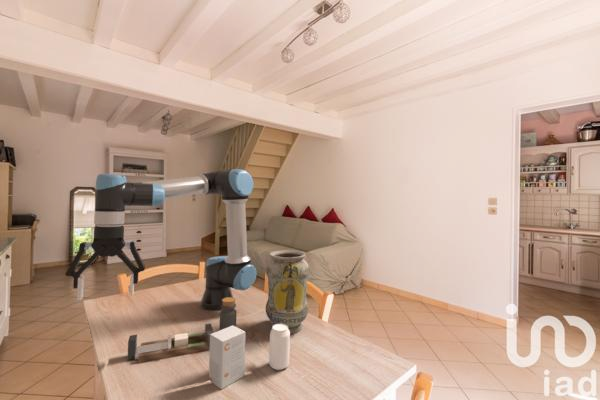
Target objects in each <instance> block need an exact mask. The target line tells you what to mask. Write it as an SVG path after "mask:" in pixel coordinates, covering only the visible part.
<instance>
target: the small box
mask: <svg viewBox="0 0 600 400" xmlns="http://www.w3.org/2000/svg"><path fill="white" fill-rule="evenodd" d="M208 356H209V359H208V360H209V361H208V363H209V364H208V377H209V378H210V379H209V381H210V382H211V383H212V384H214V386H216V387H218V389H220V390H222V389H225V388H226V387H228V386H230V385H231V384H233V383H234V382H236V381H238V380H240V379H242V378H243V377H245V369H246V368H245V367H246V365H245V364H246V331H245V330H243V329H241V328H239V327H237V326H236V327H235V326H233V325H232V326H230V327H227V328H225V329H222V330H220V331H219V330H218V331H214V333H212V334H210V350H209V355H208Z"/></svg>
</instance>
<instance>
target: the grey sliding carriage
mask: <svg viewBox="0 0 600 400" xmlns="http://www.w3.org/2000/svg"><path fill="white" fill-rule="evenodd" d="M171 338H172V334H170V335H168V336H167V339H168V341H167V342H161V343H155V344H149V345H143V346H141V345H138V334H133V335H129V336H128V340H127V361H129V360H130V361H131V360H138V355H139V354H142V353H147V352H153V351H159V350H164V349H170V348H171Z"/></svg>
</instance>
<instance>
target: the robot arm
mask: <svg viewBox="0 0 600 400" xmlns="http://www.w3.org/2000/svg"><path fill="white" fill-rule="evenodd" d="M253 189H254V179H253V178H252V176H251V174H250V173H249V172H248V171H246V170H245V169H239V168H232V169H219V170H214V171H210V172H206V173H198V174H197V175H195V176H189V177H180V178H179V177H178V178H169V179H162V180H161V179H159V180H151V181H139V182H131V181H128V180H127V177H126V176H125V175H123V174H115V173H100V174H98V175H97V176H96V181H95V188H94V192H95V194H94V197H95V198H94V219H93V224H94V227H93V240H92V242H87V241H83V242H81V243H79V247H78V251H77V253H76V255H75V257H74V258H73V259H72V262H71V264H70V265H69V267H68V268H67V270H66V272H65V273H64V274H65V276H67V277H72V278H73V285H72V288H73V289H74V290H75V289H76V290H77V292H76V293H77V294H76V296H77V298H76V301H77V302H78V301H81V300H82V299H83V298H84V283H85V275H82V273H83V272H85V270H86V269H88V268H89V266H90V265H91V264H93V262H94V261H95V260H96V259H97V258H98V257H99V256H100V257H101V258H105V257H115V256H116V257H118V258H119V259H120V260H121V261H122V262H123V263H124V264H125V266H126V267H128V269H129V270H130V271H131V272H130V275H129V276H130V277H129V278H130V279H129V296H130V297H131V296H133V295H134V292H135V291H134V290H135V285H137V284H138V283H139V273H141V272H144V271H145V270H146V266H145V263H144V262H143V260H142V257H141V256H140V254H139V251H138V249H137V246H136V241H135V240H131V241H125V239H124V238H125V226H124V224H125V216H126V215H125V212H126V206H128V207H129V206H133V207H155V206H156V207H159V206H161V205H163V203H164V202H165V200H167V199H172V198H179V197H184V196H185V197H186V196H192V195H198V194H199V195H201V196H206V195H207V196H208V195H215V196H216V195H217V196H221V200H222V202H223V203H224V204H225V217H226V221H225V222H226V240H227V244H226V245H227V255H219V256H212V257H208V258H207V260H206V264H205V289H204V292H203V295H202V298H201V301H200V307H201V308H202V309H204V310H209V311H219V310H220V311H221V310H223V309H222V308H221V305H222V304H223V303H222V299H224V298H227V297H232V298H234V296H233V292H232V289H234V290H235V291H237V290H238V291H239V290H240V291H247V290H248V289H250V288H251V287H252V286H253V284H254V282H255V281H256V278H257V274H258V273H257V272H258V271H257V269H256V266H254V265H253V264H252V263H251V262H252V261H251V257H250V256H249V255H248V244H247V243H248V241H247V216H246V215H247V214H246V213H247V211H246V203H247V201H249V195H251V194H252V193H253V192H252V191H253ZM124 247H127V249H128V250H129V249H130V253H131V255H132V256H133V258H134V260H135V262H136V264H135V263H134V262H132V260H131V259H130V258H129V257H128V256H127V254H126V253H125V252H124V251H123V248H124ZM90 248H92V250H94V251H95V252H94V253H93V254H92V255H91V256H90V257H89V258H88V259H87V260H86V261H85V262H84V263H83V265H82V266H80V267H79V268H78V269H77V267H78V265H79V264H80V262H81V260H82V258H83V256H84V255H85V254H86V251H88V250H89V249H90ZM136 265H137V266H136ZM76 269H77V271H75V270H76Z"/></svg>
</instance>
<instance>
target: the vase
mask: <svg viewBox="0 0 600 400" xmlns="http://www.w3.org/2000/svg"><path fill="white" fill-rule="evenodd" d="M269 256H270V258H271V259H270V260H269V261H268V262H267V264H266V265H265V274H266V277H267V285H268V287H267V290H268V293H267V294H268V297H267V301H266V304H265V314H266V317H267V318H268V319H269V321H270V322H271V324H270V328H271V329H272V327H273V326H274V325H275V324H285V325H287V326H288V329H289V331H290V335H291V334H295V333H299V332H300V331H301V330H302V329H303V324H302V323H303V322H304V321H305V320H306V318H307V317H308V314H309V310H310V309H309V303H308V299H307V287H308V286H307V285H308V277H309V274H310V265H309V264H308V262H307V260H305V259H304V258H305V257H306V254H305V252H304V251H299V250H287V249H285V250H276V251H275V250H274V251H271V252H270V253H269Z"/></svg>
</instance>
